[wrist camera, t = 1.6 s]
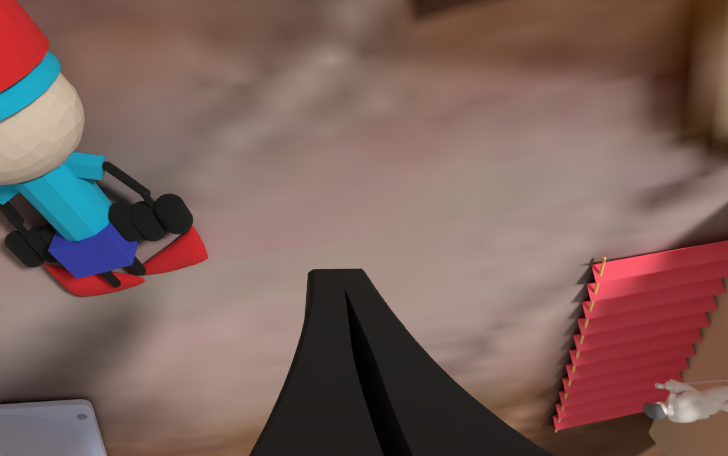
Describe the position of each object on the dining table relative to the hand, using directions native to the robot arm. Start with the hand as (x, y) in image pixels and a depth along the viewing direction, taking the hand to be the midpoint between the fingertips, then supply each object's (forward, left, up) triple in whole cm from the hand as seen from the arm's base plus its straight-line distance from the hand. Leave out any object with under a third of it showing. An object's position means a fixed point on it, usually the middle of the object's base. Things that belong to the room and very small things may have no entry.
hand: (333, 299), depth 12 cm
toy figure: (0, +10, -10) cm, 14 cm away
